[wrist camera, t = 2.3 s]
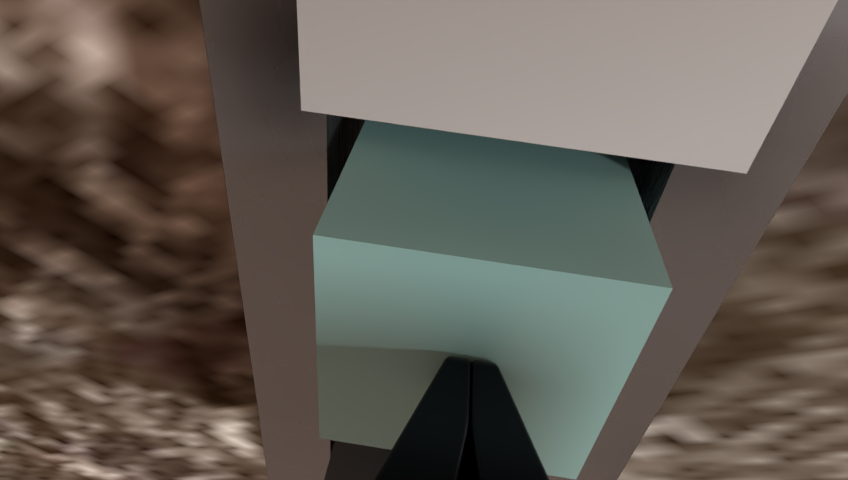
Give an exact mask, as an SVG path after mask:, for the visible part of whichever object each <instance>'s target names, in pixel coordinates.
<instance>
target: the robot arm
mask: <svg viewBox="0 0 848 480" xmlns="http://www.w3.org/2000/svg"><path fill="white" fill-rule="evenodd" d="M374 480H549V478H548V476H547V473H546V471H545V469H544V467H543V465H542V462H541V460H540V458H539V456H538V453H537V451H536V449H535V447H534V444H533V442H532V440H531V438H530V436H529V433H528V431H527V429H526V427H525V424H524V422H523V420H522V418H521V416H520V413H519V411H518V409H517V407H516V404H515V402H514V400H513V398H512V395H511V393H510V391H509V389H508V387H507V384H506V382H505V380H504V378H503V375H502V373H501V371H500V369H499V367H498V366H497V365H496V364H495V363H492V362H486V361H479V360H474V361H473V362H472V363H471V361H470V360H469V359H466V358H460V357H453V356H448V357H447V358H445V360H444V361H443V363H442V365H441V366H440V368H439V370H438V371H437V373H436V375H435V377H434V378H433V380H432V382H431V383H430V385H429V387H428V388H427V390H426V392H425V394H424V395H423V397H422V399H421V400H420V402H419V404H418V405H417V407H416V409H415V410H414V412H413V414H412V416H411V417H410V419H409V421H408V422H407V424H406V426H405V427H404V429H403V431H402V433H401V434H400V436H399V438H398V439H397V441H396V443H395V444H394V446H393V448H392V449H391V451H390V453H389V455H388V456H387V458H386V460H385V461H384V463H383V465H382V466H381V468H380V470H379V472H378V473H377V475H376V477H375V478H374Z"/></svg>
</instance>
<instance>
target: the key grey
mask: <svg viewBox="0 0 848 480" xmlns="http://www.w3.org/2000/svg"><path fill="white" fill-rule="evenodd" d="M837 1H838V0H297V21H298V45H299V69H300V93H301V111H308V112H315V113H322V114H329V115H336V116H343V117H350V118H357V119H364V120H371V121H379V122H386V123H393V124H400V125H407V126H414V127H421V128H428V129H435V130H442V131H449V132H456V133H463V134H470V135H477V136H484V137H491V138H498V139H505V140H513V141H520V142H527V143H534V144H541V145H548V146H555V147H562V148H569V149H576V150H583V151H590V152H597V153H604V154H611V155H618V156H625V157H632V158H639V159H647V160H654V161H661V162H668V163H675V164H682V165H689V166H696V167H703V168H710V169H717V170H724V171H731V172H738V173H745V174H747V172H748V170H749V168H750V166H751V164H752V162H753V160H754V159H755V157H756V155H757V153H758V151H759V149H760V147H761V145H762V143H763V141H764V140H765V138H766V136H767V134H768V132H769V130H770V128H771V126H772V124H773V123H774V121H775V119H776V117H777V115H778V113H779V111H780V109H781V107H782V105H783V104H784V102H785V100H786V98H787V96H788V94H789V92H790V90H791V88H792V86H793V85H794V83H795V81H796V79H797V77H798V75H799V73H800V71H801V69H802V67H803V66H804V64H805V62H806V60H807V58H808V56H809V54H810V52H811V50H812V49H813V47H814V45H815V43H816V41H817V39H818V37H819V35H820V33H821V31H822V30H823V28H824V26H825V24H826V22H827V20H828V18H829V16H830V14H831V12H832V11H833V9H834V7H835V5H836V3H837Z"/></svg>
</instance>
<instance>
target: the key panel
mask: <svg viewBox="0 0 848 480" xmlns="http://www.w3.org/2000/svg"><path fill="white" fill-rule="evenodd" d="M199 3H200V10H201V17H202V24H203V31H204V38H205V45H206V52H207V58H208V65H209V72H210V79H211V86H212V93H213V100H214V107H215V114H216V121H217V128H218V135H219V142H220V149H221V156H222V163H223V170H224V176H225V183H226V190H227V197H228V204H229V211H230V218H231V225H232V232H233V239H234V246H235V253H236V260H237V267H238V274H239V281H240V288H241V295H242V301H243V308H244V315H245V322H246V329H247V336H248V343H249V350H250V357H251V364H252V371H253V378H254V385H255V392H256V399H257V406H258V413H259V419H260V426H261V433H262V440H263V447H264V454H265V461H266V468H267V475H268V480H324V478H325V475H326V471H327V467H328V464H329V460H330V456H331V453H332V449H333V445H334V442H335V441H333V440H327V439H321V438H319V408H318V378H317V347H316V316H315V286H314V255H313V234H314V231H315V229H316V227H317V225H318V223H319V220H320V218H321V216H322V214H323V212H324V210H325V207H326V205H327V203H328V201H329V199H330V196H331V194H332V192H333V190H334V188H335V186H336V183H337V181H338V179H339V177H340V175H341V172H342V170H343V168H344V166H345V164H346V162H347V159H348V157H349V155H350V153H351V151H352V148H353V146H354V144H355V142H356V140H357V138H358V135H359V133H360V131H361V129H362V127H363V125H364V122H365V120H364V119H357V118H350V117H343V116H336V115H329V114H322V113H315V112H308V111H301V93H300V69H299V45H298V21H297V0H199ZM847 92H848V0H838V1H837V3H836V5H835V7H834V9H833V11H832V12H831V14H830V16H829V18H828V20H827V22H826V24H825V26H824V28H823V30H822V31H821V33H820V35H819V37H818V39H817V41H816V43H815V45H814V47H813V49H812V50H811V52H810V54H809V56H808V58H807V60H806V62H805V64H804V66H803V67H802V69H801V71H800V73H799V75H798V77H797V79H796V81H795V83H794V85H793V86H792V88H791V90H790V92H789V94H788V96H787V98H786V100H785V102H784V104H783V105H782V107H781V109H780V111H779V113H778V115H777V117H776V119H775V121H774V123H773V124H772V126H771V128H770V130H769V132H768V134H767V136H766V138H765V140H764V141H763V143H762V145H761V147H760V149H759V151H758V153H757V155H756V157H755V159H754V160H753V162H752V164H751V166H750V168H749V170H748V172H747V174H745V173H738V172H731V171H724V170H717V169H710V168H703V167H696V166H689V165H682V164H675V163H668V162H661V161H654V160H647V159H639V158H632V157H626V159H627V161H628V164H629V167H630V170H631V173H632V175H633V178H634V181H635V184H636V187H637V189H638V192H639V195H640V198H641V201H642V203H643V206H644V209H645V212H646V215H647V217H648V220H649V223H650V226H651V229H652V231H653V234H654V237H655V240H656V243H657V245H658V248H659V251H660V254H661V257H662V259H663V262H664V265H665V268H666V271H667V273H668V276H669V279H670V282H671V285H672V288H673V289H672V291H671V293H670V295H669V297H668V299H667V301H666V303H665V305H664V307H663V309H662V311H661V313H660V315H659V317H658V319H657V321H656V323H655V325H654V327H653V329H652V331H651V333H650V335H649V337H648V339H647V341H646V343H645V345H644V346H643V348H642V350H641V352H640V354H639V356H638V358H637V360H636V362H635V364H634V366H633V368H632V370H631V372H630V374H629V376H628V378H627V380H626V382H625V384H624V386H623V388H622V390H621V392H620V394H619V396H618V398H617V400H616V402H615V404H614V406H613V408H612V410H611V412H610V414H609V416H608V417H607V419H606V421H605V423H604V425H603V427H602V429H601V431H600V433H599V435H598V437H597V439H596V441H595V443H594V445H593V447H592V449H591V451H590V453H589V455H588V457H587V459H586V461H585V463H584V465H583V467H582V469H581V471H580V473H579V475H578V477H577V479H570V478H563V477H557V476H551V475H548V478H549V480H617V479H618V477H619V476H620V474H621V472H622V471H623V469H624V467H625V466H626V464H627V462H628V460H629V459H630V457H631V455H632V454H633V452H634V450H635V449H636V447H637V445H638V444H639V442H640V440H641V439H642V437H643V435H644V434H645V432H646V430H647V428H648V427H649V425H650V423H651V422H652V420H653V418H654V417H655V415H656V413H657V412H658V410H659V408H660V407H661V405H662V403H663V402H664V400H665V398H666V397H667V395H668V393H669V391H670V390H671V388H672V386H673V385H674V383H675V381H676V380H677V378H678V376H679V375H680V373H681V371H682V370H683V368H684V366H685V365H686V363H687V361H688V359H689V358H690V356H691V354H692V353H693V351H694V349H695V348H696V346H697V344H698V343H699V341H700V339H701V338H702V336H703V334H704V333H705V331H706V329H707V328H708V326H709V324H710V322H711V321H712V319H713V317H714V316H715V314H716V312H717V311H718V309H719V307H720V306H721V304H722V302H723V301H724V299H725V297H726V296H727V294H728V292H729V290H730V289H731V287H732V285H733V284H734V282H735V280H736V279H737V277H738V275H739V274H740V272H741V270H742V269H743V267H744V265H745V264H746V262H747V260H748V258H749V257H750V255H751V253H752V252H753V250H754V248H755V247H756V245H757V243H758V242H759V240H760V238H761V237H762V235H763V233H764V232H765V230H766V228H767V227H768V225H769V223H770V221H771V220H772V218H773V216H774V215H775V213H776V211H777V210H778V208H779V206H780V205H781V203H782V201H783V200H784V198H785V196H786V195H787V193H788V191H789V189H790V188H791V186H792V184H793V183H794V181H795V179H796V178H797V176H798V174H799V173H800V171H801V169H802V168H803V166H804V164H805V163H806V161H807V159H808V158H809V156H810V154H811V152H812V151H813V149H814V147H815V146H816V144H817V142H818V141H819V139H820V137H821V136H822V134H823V132H824V131H825V129H826V127H827V126H828V124H829V122H830V120H831V119H832V117H833V115H834V114H835V112H836V110H837V109H838V107H839V105H840V104H841V102H842V100H843V99H844V97H845V95H846V94H847ZM369 121H371V120H369ZM376 122H379V121H376ZM383 123H386V122H383ZM390 124H393V123H390ZM397 125H400V124H397ZM404 126H407V125H404ZM411 127H414V126H411ZM418 128H421V127H418ZM425 129H428V128H425ZM432 130H435V129H432ZM439 131H442V130H439ZM446 132H449V131H446ZM453 133H456V132H453ZM461 134H463V133H461ZM468 135H470V134H468ZM475 136H477V135H475ZM482 137H484V136H482ZM489 138H491V137H489ZM496 139H498V138H496ZM503 140H505V139H503ZM510 141H513V140H510ZM517 142H520V141H517ZM524 143H527V142H524ZM531 144H534V143H531ZM538 145H541V144H538ZM545 146H548V145H545ZM552 147H555V146H552ZM559 148H562V147H559ZM566 149H569V148H566ZM573 150H576V149H573ZM580 151H583V150H580ZM587 152H590V151H587ZM595 153H597V152H595ZM602 154H604V153H602ZM609 155H611V154H609ZM616 156H618V155H616ZM623 157H625V156H623Z"/></svg>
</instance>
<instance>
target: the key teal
mask: <svg viewBox="0 0 848 480" xmlns="http://www.w3.org/2000/svg"><path fill="white" fill-rule="evenodd" d="M313 255H314V286H315V316H316V347H317V378H318V408H319V438H321V439H327V440H333V441H340V442H346V443H352V444H358V445H364V446H371V447H377V448H383V449H389V450H391V449H392V448H393V446H394V444H395V443H396V441H397V439H398V438H399V436H400V434H401V433H402V431H403V429H404V427H405V426H406V424H407V422H408V421H409V419H410V417H411V416H412V414H413V412H414V410H415V409H416V407H417V405H418V404H419V402H420V400H421V399H422V397H423V395H424V394H425V392H426V390H427V388H428V387H429V385H430V383H431V382H432V380H433V378H434V377H435V375H436V373H437V371H438V370H439V368H440V366H441V365H442V363H443V361H444V360H445V358H447V357H448V356H453V357H460V358H466V359H469V360H470V361H471V363H472V362H473V361H474V360H479V361H486V362H492V363H495V364H496V365H497V366H498V367H499V369H500V371H501V373H502V375H503V378H504V380H505V382H506V384H507V387H508V389H509V391H510V393H511V395H512V398H513V400H514V402H515V404H516V407H517V409H518V411H519V413H520V416H521V418H522V420H523V422H524V424H525V427H526V429H527V431H528V433H529V436H530V438H531V440H532V442H533V444H534V447H535V449H536V451H537V453H538V456H539V458H540V460H541V462H542V465H543V467H544V469H545V471H546V473H547V475H551V476H557V477H563V478H570V479H577V477H578V475H579V473H580V471H581V469H582V467H583V465H584V463H585V461H586V459H587V457H588V455H589V453H590V451H591V449H592V447H593V445H594V443H595V441H596V439H597V437H598V435H599V433H600V431H601V429H602V427H603V425H604V423H605V421H606V419H607V417H608V416H609V414H610V412H611V410H612V408H613V406H614V404H615V402H616V400H617V398H618V396H619V394H620V392H621V390H622V388H623V386H624V384H625V382H626V380H627V378H628V376H629V374H630V372H631V370H632V368H633V366H634V364H635V362H636V360H637V358H638V356H639V354H640V352H641V350H642V348H643V346H644V345H645V343H646V341H647V339H648V337H649V335H650V333H651V331H652V329H653V327H654V325H655V323H656V321H657V319H658V317H659V315H660V313H661V311H662V309H663V307H664V305H665V303H666V301H667V299H668V297H669V295H670V293H671V291H672V289H673V288H672V285H671V282H670V279H669V276H668V273H667V271H666V268H665V265H664V262H663V259H662V257H661V254H660V251H659V248H658V245H657V243H656V240H655V237H654V234H653V231H652V229H651V226H650V223H649V220H648V217H647V215H646V212H645V209H644V206H643V203H642V201H641V198H640V195H639V192H638V189H637V187H636V184H635V181H634V178H633V175H632V173H631V170H630V167H629V164H628V161H627V159H626V157H623V156H616V155H609V154H602V153H595V152H587V151H580V150H573V149H566V148H559V147H552V146H545V145H538V144H531V143H524V142H517V141H510V140H503V139H496V138H489V137H482V136H475V135H468V134H461V133H453V132H446V131H439V130H432V129H425V128H418V127H411V126H404V125H397V124H390V123H383V122H376V121H369V120H365V122H364V125H363V127H362V129H361V131H360V133H359V135H358V138H357V140H356V142H355V144H354V146H353V148H352V151H351V153H350V155H349V157H348V159H347V162H346V164H345V166H344V168H343V170H342V172H341V175H340V177H339V179H338V181H337V183H336V186H335V188H334V190H333V192H332V194H331V196H330V199H329V201H328V203H327V205H326V207H325V210H324V212H323V214H322V216H321V218H320V220H319V223H318V225H317V227H316V229H315V231H314V234H313Z"/></svg>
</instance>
